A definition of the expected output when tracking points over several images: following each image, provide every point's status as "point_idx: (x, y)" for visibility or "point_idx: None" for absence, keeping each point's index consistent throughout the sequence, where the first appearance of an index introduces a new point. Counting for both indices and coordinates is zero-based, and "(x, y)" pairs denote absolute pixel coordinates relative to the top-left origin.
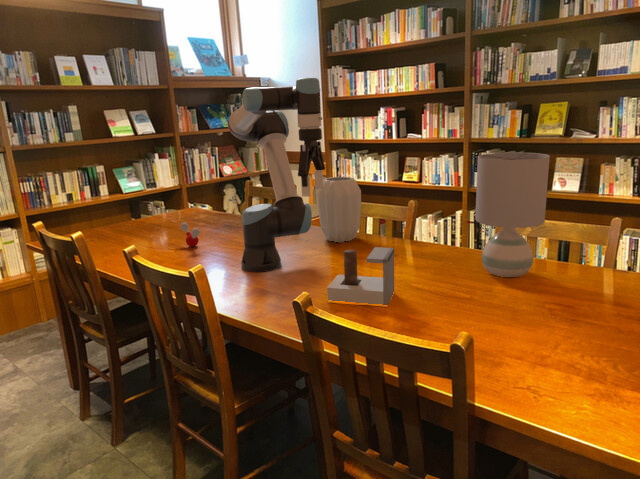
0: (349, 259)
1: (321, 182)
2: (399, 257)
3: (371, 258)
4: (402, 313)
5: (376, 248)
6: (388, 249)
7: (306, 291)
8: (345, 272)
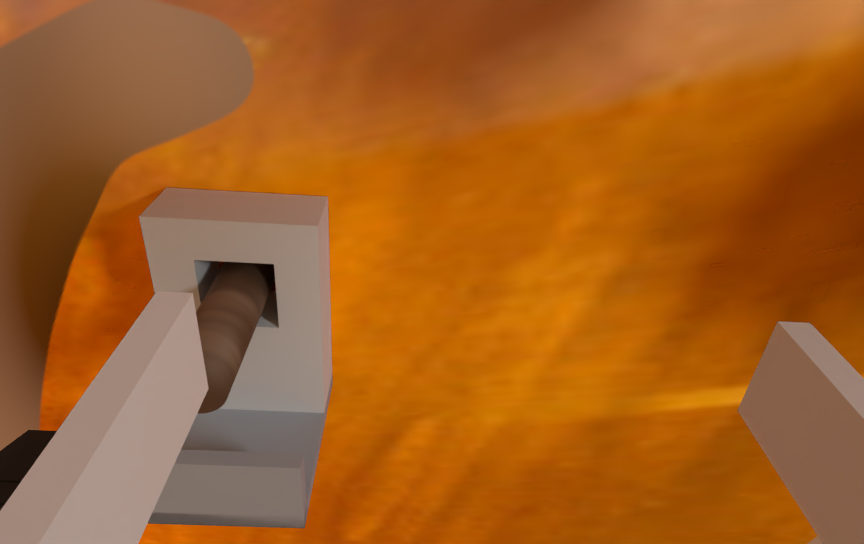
0: None
1: (796, 479)
2: (747, 363)
3: None
4: None
5: (280, 476)
6: (277, 513)
7: (262, 58)
8: (199, 307)
